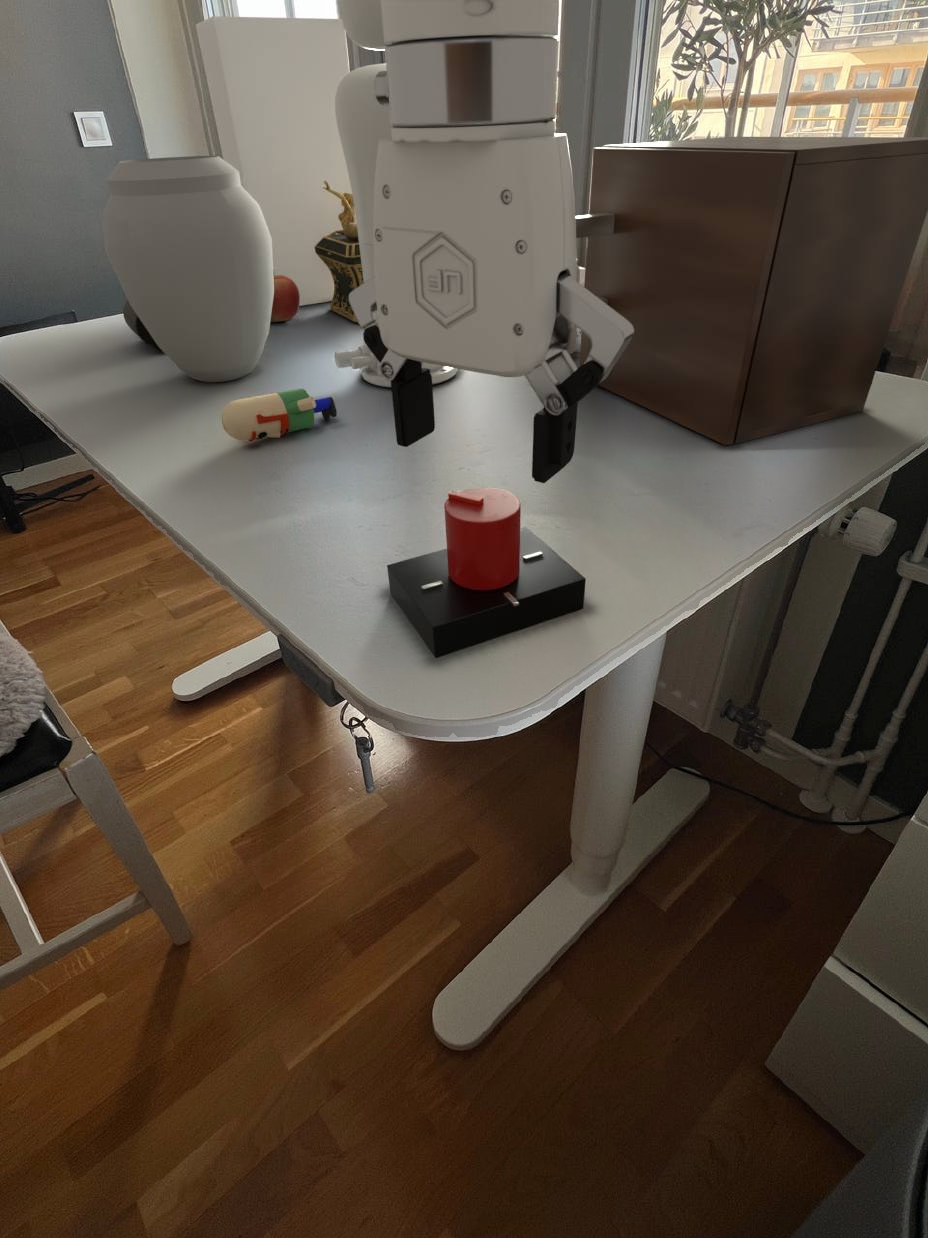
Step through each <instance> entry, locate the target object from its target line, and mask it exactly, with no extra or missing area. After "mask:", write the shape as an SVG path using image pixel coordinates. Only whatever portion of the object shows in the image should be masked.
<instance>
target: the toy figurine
mask: <svg viewBox="0 0 928 1238" xmlns="http://www.w3.org/2000/svg"><path fill="white" fill-rule="evenodd" d="M318 413H321V415H322V418H323V420H324V421H325V422H327V421H330V420H331V418H336V417H337V416H338V411H337V407H336V403H335V400H334V398H333V397H332V396H327V397H321V398H314V397H313V396H310V395H309V393H308V392H307V391H306V390H305V389H304V388H297V389H291V390H285V391H280V392H274V393H268V394H263V395H257V396H251V397H245V398H240V399H235V400H231V401H229V402H228V403H227V404H226V405H225V406H224V407H223V409H222V411H221V417H220V420H221V425H222V428H223V429H224V431H225V432H226V434H227V435H229V437H231V438H233V439H235V440H237V441H241V442H242V441H243V442H244V441H248V442H254V441H256V440H263V439H264V438H274V439H279V438H281V436H283V435H287V434H288V433H290V432H295V431H299V430H304V429H311V428H313V427H314V425H315V416H316V415H315V414H318Z"/></svg>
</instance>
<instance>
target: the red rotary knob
mask: <svg viewBox="0 0 928 1238" xmlns="http://www.w3.org/2000/svg"><path fill="white" fill-rule="evenodd" d="M447 496H448V498H447V499H446V501H445V502H444V505H443V506H444V524H445V540H446V549H447V558H448V573H449V576H450V578H451V579H452V581H453V582H455V583H456V584H458V585H459V586H461V587H464V588H467V589H471V590H480V591H485V590H494V589H499V588H502V587H505V586H507V585H509V584H511V583H512V582H513V581H514V580H515V579H516V578H517V577H518V575H519V572H520V528H521V513H522V512H521V509H522V507H521V505H522V504H521V501H520V499H519V497H518V496H517V495H515V494H514V493H512V492H511V491H508V490H505V489H501V488H497V487H488V486H487V487H485V486H484V487H483V486H482V487H472V488H471V487H470V488H466V489H463V490H461V491H457V490H451V491H450V492H449V493H448V495H447Z"/></svg>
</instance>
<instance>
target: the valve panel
mask: <svg viewBox="0 0 928 1238" xmlns="http://www.w3.org/2000/svg"><path fill="white" fill-rule="evenodd" d="M386 568H387V576H388V585H389V593H390V596H391V597H392V598H393V600H394V602H395V603H396V604H397V606H398V608H400V610H401V611H402V612H403V614H404V616H405V617H406V618H407V620H408V621H409V623H410V624H411V626H412V627H413V628H414V630H415V631H416V633H417V634H418V636H419V637H420V639H421V640H422V641H423V643H424V645H425V646H426V647H427V648H428V650H429V651H430V652H431V654H432V655H433V657H434V658H435V659H438V658H441V657H443V656H447V655H450V654H453V653H455V652H458V651H462V650H465V649H467V648H471V647H473V646H476V645H479V644H482V643H485V642H488V641H491V640H495V639H497V638H500V637H503V636H507V635H510V634H512V633H515V632H516V633H517V632H519V631H521V630H524V629H527V628H531V627H533V626H536V625H537V626H538V625H539V624H542V623H546V622H549V621H551V620H554V619H558V618H560V617H563V616H566V615H569V614H572V613H575V612H579V611H581V610H583V609H584V607H585V606H584V604H585V594H586V582H587V578H586V577H585V576H583V575H582V574H581V573H580V572H579V571H578V570H577V569H575V568H574V567H573V566H572V565H571V564H569V563H568V562H567V561H566V560H565V559H564V558H563V557H561V556H560V555H559V554H558V553H557V552H555V550H554V549H552V548H551V547H550V546H548V545H547V543H545V542H544V541H543V540H542V539H541V538H539V537H538V536H537V535H535V534H534V533H533V532H532V531H531V530H530V529H529V528H527V527H526V526H523V527H520V572H519V575H518V577H517V578H516V579H515V580H514V581H513V582H512V583H511V584H509V585H507V586H505V587H502V588H499V589H494V590H485V591H480V590H471V589H467V588H464V587H461V586H459V585H458V584H456V583H455V582H453V581H452V579H451V578H450V576H449V573H448V558H447V548H443V549H440V550H436V551H433V552H429V553H426V554H422V555H418V556H415V557H411V558H408V559H403V560H399V561H396V562H393V563H390V564H387V565H386Z"/></svg>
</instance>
